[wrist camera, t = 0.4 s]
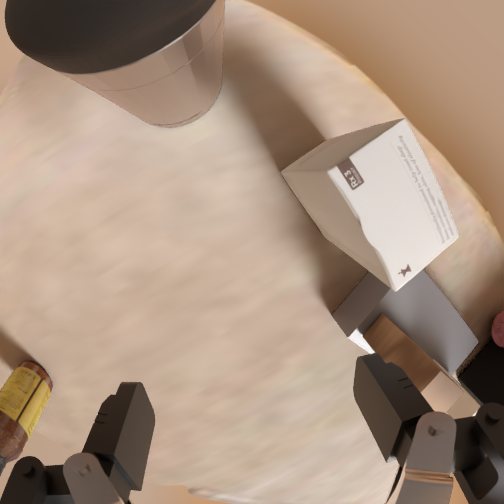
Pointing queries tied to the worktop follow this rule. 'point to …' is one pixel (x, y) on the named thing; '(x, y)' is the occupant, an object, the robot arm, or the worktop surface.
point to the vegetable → (498, 329)
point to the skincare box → (376, 200)
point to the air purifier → (486, 376)
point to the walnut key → (413, 363)
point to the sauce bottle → (21, 408)
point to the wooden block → (462, 402)
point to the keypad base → (409, 317)
